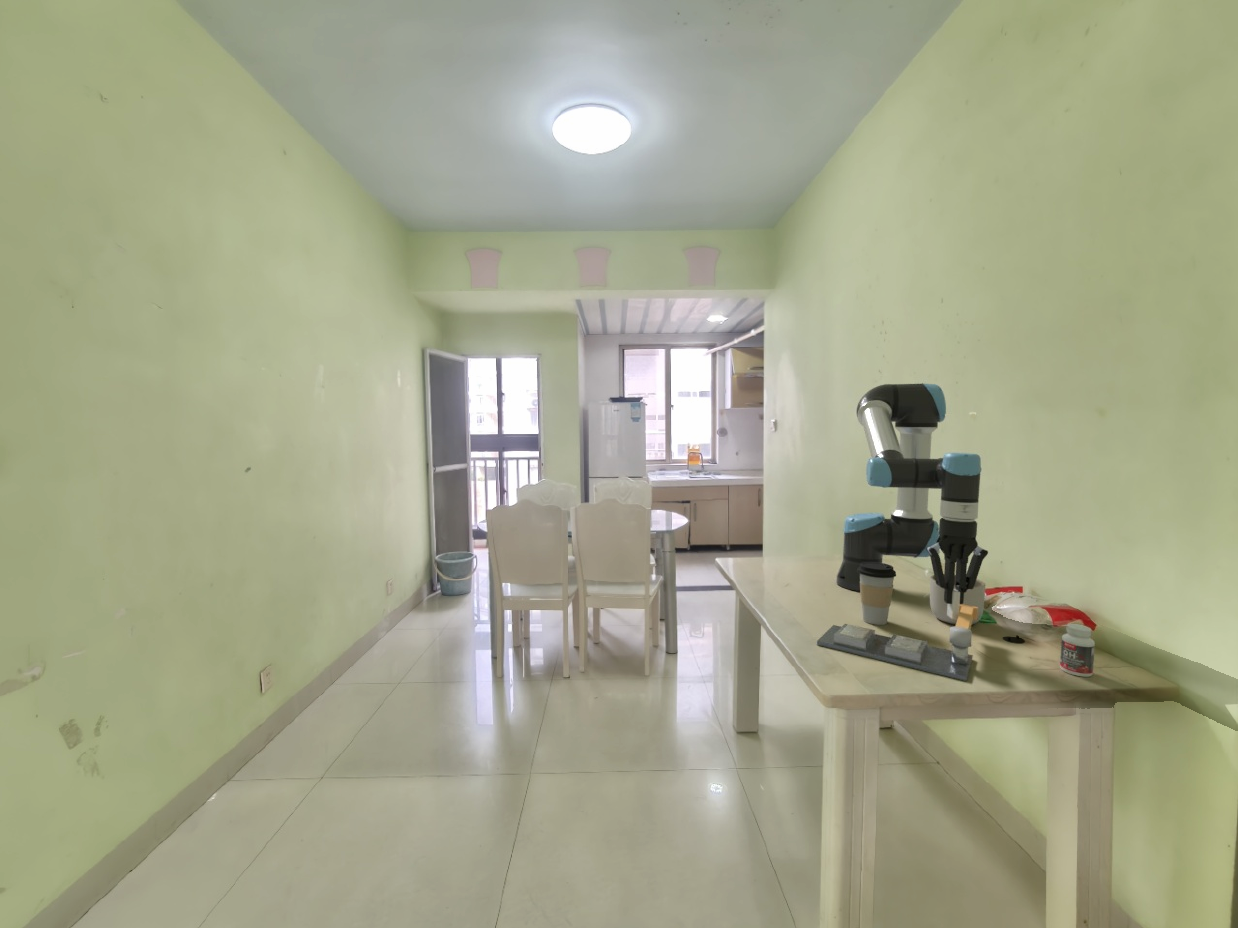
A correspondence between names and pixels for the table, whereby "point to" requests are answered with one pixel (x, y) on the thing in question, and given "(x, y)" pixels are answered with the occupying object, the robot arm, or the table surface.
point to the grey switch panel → (899, 650)
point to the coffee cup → (876, 591)
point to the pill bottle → (1077, 651)
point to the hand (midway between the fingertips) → (952, 616)
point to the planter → (970, 598)
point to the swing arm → (963, 626)
